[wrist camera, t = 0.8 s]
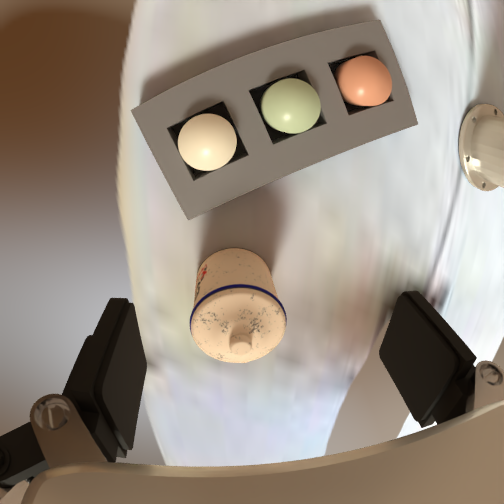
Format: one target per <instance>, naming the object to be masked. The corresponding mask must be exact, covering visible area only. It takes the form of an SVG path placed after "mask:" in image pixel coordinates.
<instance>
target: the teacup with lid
mask: <svg viewBox="0 0 504 504" xmlns="http://www.w3.org/2000/svg"><path fill="white" fill-rule="evenodd" d="M285 328H286V313H285V310H284V307H283V305H282V304H281V302H280V301H279V299H278V296H277V293H276V290H275V287H274V284H273V280H272V277H271V274H270V271H269V269H268V267H267V265H266V263H265V262H264V261H263V260H262V259H261V258H260V257H259V256H258V255H256V254H255V253H253V252H251V251H248V250H245V249H239V248H230V249H224V250H221V251H218V252H216V253H214V254H212V255H211V256H210V257H208V258H207V259H206V260H205V261H204V262H203V264H202V265H201V267H200V269H199V271H198V274H197V279H196V289H195V299H194V309H193V311H192V313H191V317H190V330H191V334H192V336H193V338H194V341H195V342H196V344H197V345H198V346H199V347H200V349H201V350H203V351H204V352H205V353H206V354H208V355H209V356H211V357H213V358H215V359H218V360H221V361H225V362H234V363H240V362H241V363H246V362H248V361H252V360H255V359H258V358H260V357H262V356H264V355H266V354H268V353H269V352H270V351H272V350H273V349H274V348H275V347H276V346H277V345H278V343H279V342H280V340H281V339H282V337H283V335H284V332H285Z"/></svg>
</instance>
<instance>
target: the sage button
mask: <svg viewBox="0 0 504 504" xmlns="http://www.w3.org/2000/svg"><path fill="white" fill-rule="evenodd" d="M320 110H321V105H320V99H319V96H318V94H317V93H316V91H315V90H314V89H313V87H312V86H310V85H309V84H308V83H306V82H304V81H302V80H299V79H293V78H289V79H284V80H281V81H278V82H277V83H275V84H273V85H271V86H270V87H268V88H267V89H266V90H265V92H264V93H263V95H262V97H261V99H260V113H261V116H262V118H263V119H264V121H265V122H266V123H267V124H268V125H269V126H270V127H272V128H273V129H276V130H278V131H282V132H286V133H301V132H304V131H306V130H308V129H309V128H311V127H312V126H313V125H314V124H315V123H316V121H317V119H318V117H319V115H320Z"/></svg>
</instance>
